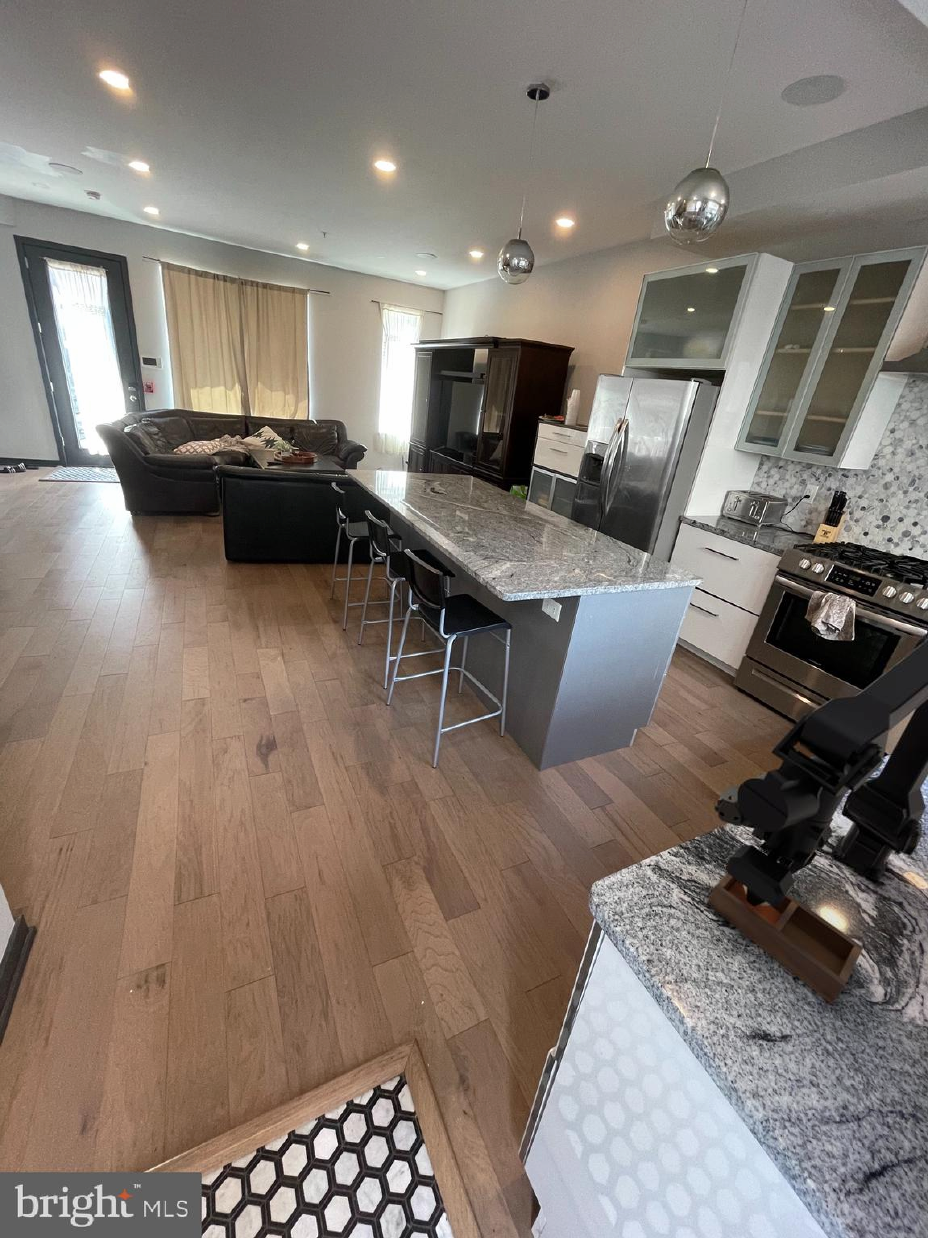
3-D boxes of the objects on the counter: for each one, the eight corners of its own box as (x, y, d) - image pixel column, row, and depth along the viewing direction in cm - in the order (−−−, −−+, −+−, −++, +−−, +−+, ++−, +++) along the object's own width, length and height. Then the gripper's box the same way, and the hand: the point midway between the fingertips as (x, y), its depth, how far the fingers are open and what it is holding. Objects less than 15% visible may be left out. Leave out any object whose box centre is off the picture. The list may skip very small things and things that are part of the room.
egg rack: (731, 876, 75) (740, 859, 73) (851, 965, 64) (863, 947, 63) (706, 904, 70) (714, 886, 68) (831, 1005, 59) (844, 986, 58)
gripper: (766, 745, 73) (729, 826, 79) (706, 792, 62) (668, 882, 68) (855, 793, 66) (806, 878, 72) (805, 856, 54) (752, 952, 60)
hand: (758, 894), depth 68 cm, fingers closed on egg, 4 cm apart
